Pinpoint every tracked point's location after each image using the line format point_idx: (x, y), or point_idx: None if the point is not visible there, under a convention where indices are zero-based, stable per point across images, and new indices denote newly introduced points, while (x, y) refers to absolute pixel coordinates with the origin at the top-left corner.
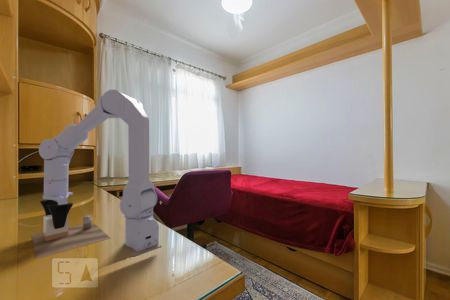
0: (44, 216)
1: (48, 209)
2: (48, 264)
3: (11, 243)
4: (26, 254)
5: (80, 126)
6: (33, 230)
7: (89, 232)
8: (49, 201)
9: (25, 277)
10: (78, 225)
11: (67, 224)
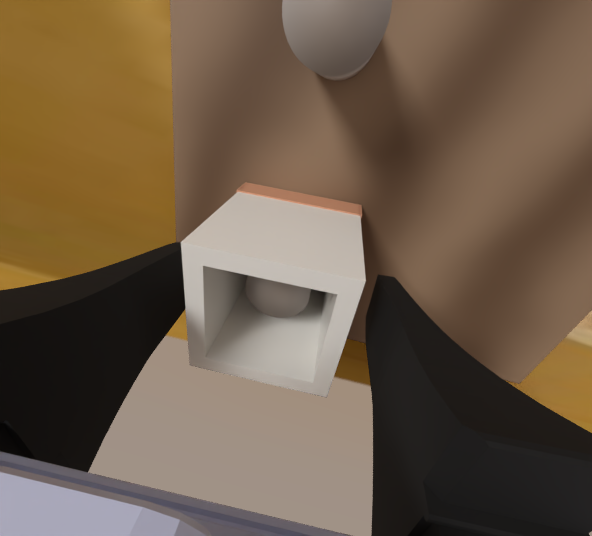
0: (210, 367)
1: (128, 369)
2: (561, 347)
3: (179, 325)
4: (362, 342)
5: None
6: (36, 228)
7: (464, 77)
8: (51, 449)
9: (568, 402)
10: (182, 49)
11: (359, 240)
